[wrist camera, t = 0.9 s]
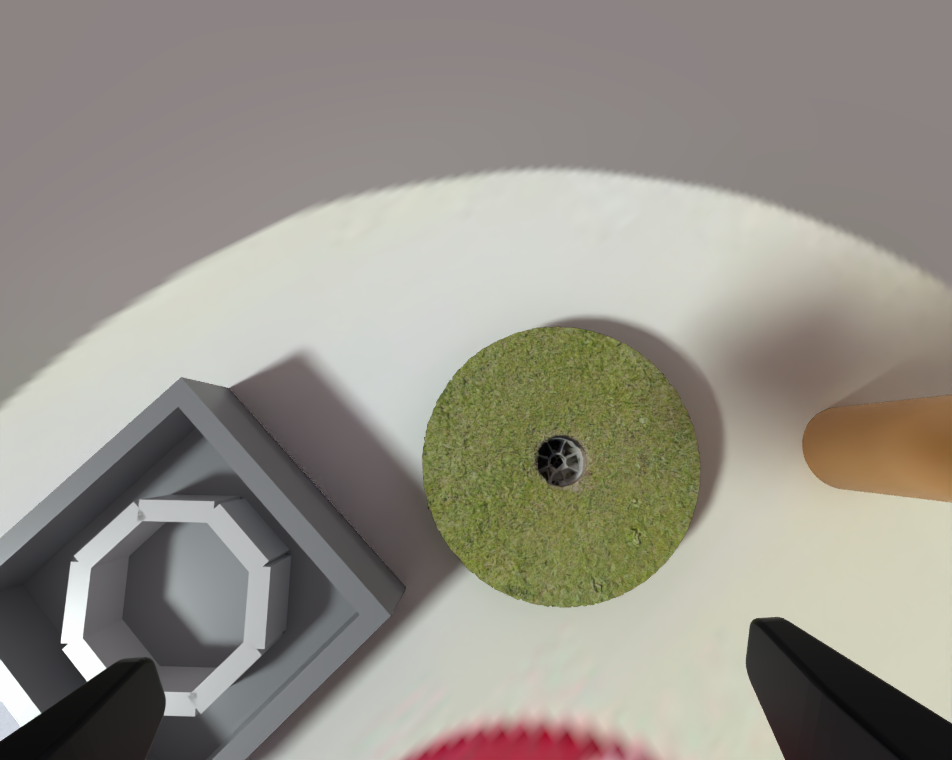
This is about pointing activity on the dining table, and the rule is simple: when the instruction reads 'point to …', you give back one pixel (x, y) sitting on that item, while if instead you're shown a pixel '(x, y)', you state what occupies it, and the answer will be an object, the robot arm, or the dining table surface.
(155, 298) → the dining table surface
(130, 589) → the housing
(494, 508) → the olive green flat disc
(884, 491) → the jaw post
